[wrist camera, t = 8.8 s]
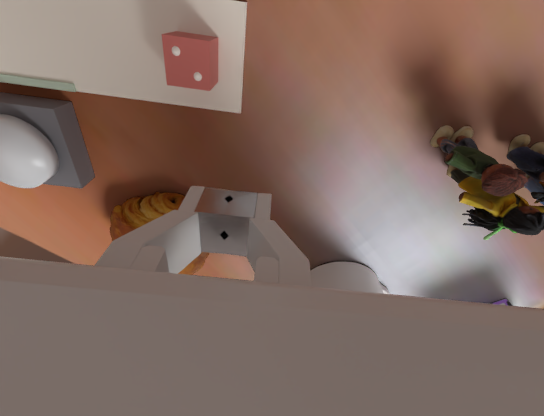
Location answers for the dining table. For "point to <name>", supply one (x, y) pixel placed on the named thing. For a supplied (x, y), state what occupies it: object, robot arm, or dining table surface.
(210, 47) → the red die
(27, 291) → the robot arm
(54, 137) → the base
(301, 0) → the dining table surface
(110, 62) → the board
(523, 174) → the doll family
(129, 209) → the croissant
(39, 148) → the dome plunger
